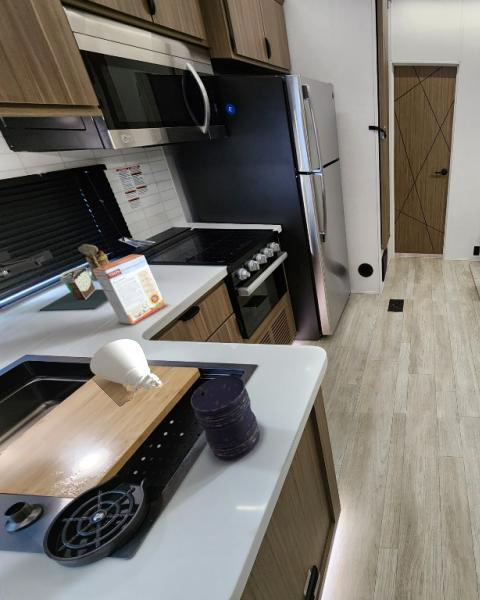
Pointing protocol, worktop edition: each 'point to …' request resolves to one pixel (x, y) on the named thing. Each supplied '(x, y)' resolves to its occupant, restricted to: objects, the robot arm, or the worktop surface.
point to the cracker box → (130, 288)
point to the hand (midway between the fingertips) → (29, 254)
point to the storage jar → (226, 417)
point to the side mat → (78, 302)
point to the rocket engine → (124, 365)
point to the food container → (78, 282)
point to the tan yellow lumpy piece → (93, 257)
